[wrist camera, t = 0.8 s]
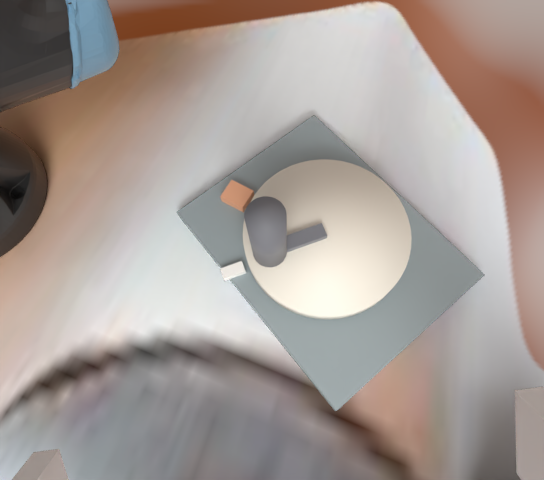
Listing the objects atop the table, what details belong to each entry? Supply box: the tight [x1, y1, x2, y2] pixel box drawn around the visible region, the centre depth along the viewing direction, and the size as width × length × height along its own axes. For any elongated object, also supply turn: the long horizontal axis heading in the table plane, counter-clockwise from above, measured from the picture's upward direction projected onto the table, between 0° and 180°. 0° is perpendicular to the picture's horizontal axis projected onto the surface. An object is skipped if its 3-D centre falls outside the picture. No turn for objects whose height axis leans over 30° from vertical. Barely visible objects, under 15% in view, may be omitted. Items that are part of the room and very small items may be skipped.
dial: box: [243, 159, 412, 320], centre depth 31 cm, size 14×14×9 cm
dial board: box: [177, 115, 484, 411], centre depth 36 cm, size 22×18×2 cm
